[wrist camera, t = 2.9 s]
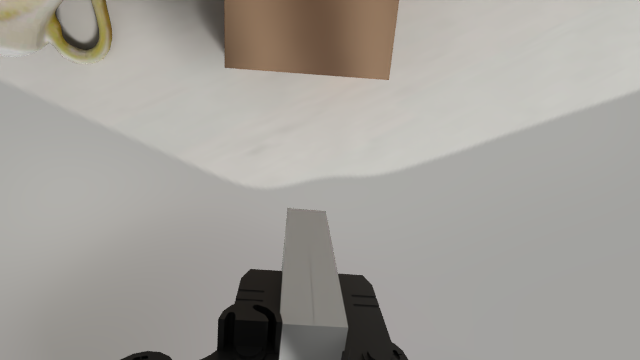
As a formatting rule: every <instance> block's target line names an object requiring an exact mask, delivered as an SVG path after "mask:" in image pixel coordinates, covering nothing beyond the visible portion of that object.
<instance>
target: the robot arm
mask: <svg viewBox="0 0 640 360" xmlns="http://www.w3.org/2000/svg"><path fill="white" fill-rule="evenodd" d="M121 360H172V359H171V358H170V357H169V356H167V355H165V354H163V353H161V352H152V351H146V352H141V353H136V354H132V355H130V356H128V357H126V358H123V359H121ZM201 360H408V359H407V357H406V355H405V354H404V352H403V351H402V350H401V349H400V348H399V347H398V346H396V345H395V344H394V343H392V342H391V340H390V337H389V334H388V331H387V328H386V325H385V322H384V319H383V316H382V313H381V311H380V308H379V304H378V301H377V299H376V296H375V293H374V290H373V287H372V285H371V284H370V283H369V282H368V281H367V280H366V279H365V277H364V276H363V275H350V274H338V272H337V267H336V263H335V257H334V252H333V247H332V242H331V237H330V231H329V226H328V222H327V216H326V211H316V210H304V209H291V208H288V209H287V219H286V229H285V240H284V251H283V262H282V271H272V270H256V269H250V270H249V271H248V272H247V273H246V274H245V275H244V276H243V277H242V278H241V281H240V285H239V289H238V293H237V296H236V301H235V304H234V305H231V306H230V307H228V308H227V309H226V310H224V311H223V312H222V314H221V316H220V317H219V319H218V346H217V351H215V352H214V353H212V354H211V355H209V356H207V357H205V358H203V359H201Z"/></svg>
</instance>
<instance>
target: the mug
mask: <svg viewBox="0 0 640 360" xmlns="http://www.w3.org/2000/svg"><path fill="white" fill-rule="evenodd" d="M62 1H63V0H0V55H1V56H8V57H20V56H27V55H29V54H32V53H34V52H37V51H39V50H41V49H42V48H44V47H45V46H46V45H47V44H48V43H50V44H52V45H53V46H54V47H55V48H56V49H57V51H58V52H59V53H60V54H61V56H62V57H64V58H66V59H68V60H70V61H72V62H74V63H77V64H92V63H96V62H99V61H100V60H102V59H104V57H105V56H106V54H107V53H108V51H109V50H110V46H111V41H112V28H111V23H110V19H109V14H108V10H107V5H106V0H91V1H92V4H93V7H94V11H95V14H96V17H97V23H98V27H99V41H98V43H97V44H96V45H95V47H94V48H91V49H89V50H84V49H79V48H76V47H74V46H72V45H70V44H69V43H67V42H66V41H65V39H64V38H63V35H62V30H61V25H60V23H59V21H58V19H57V18H56V15H55V11H56V9H57V8H58V6H59V5H60V4H61V2H62Z"/></svg>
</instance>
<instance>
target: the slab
mask: <svg viewBox="0 0 640 360" xmlns="http://www.w3.org/2000/svg"><path fill="white" fill-rule="evenodd" d="M398 4H399V0H224V33H225V68H236V69H250V70H263V71H276V72H290V73H303V74H316V75H330V76H343V77H356V78H369V79H383V80H389V75H390V67H391V59H392V51H393V43H394V35H395V28H396V20H397V12H398Z"/></svg>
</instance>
